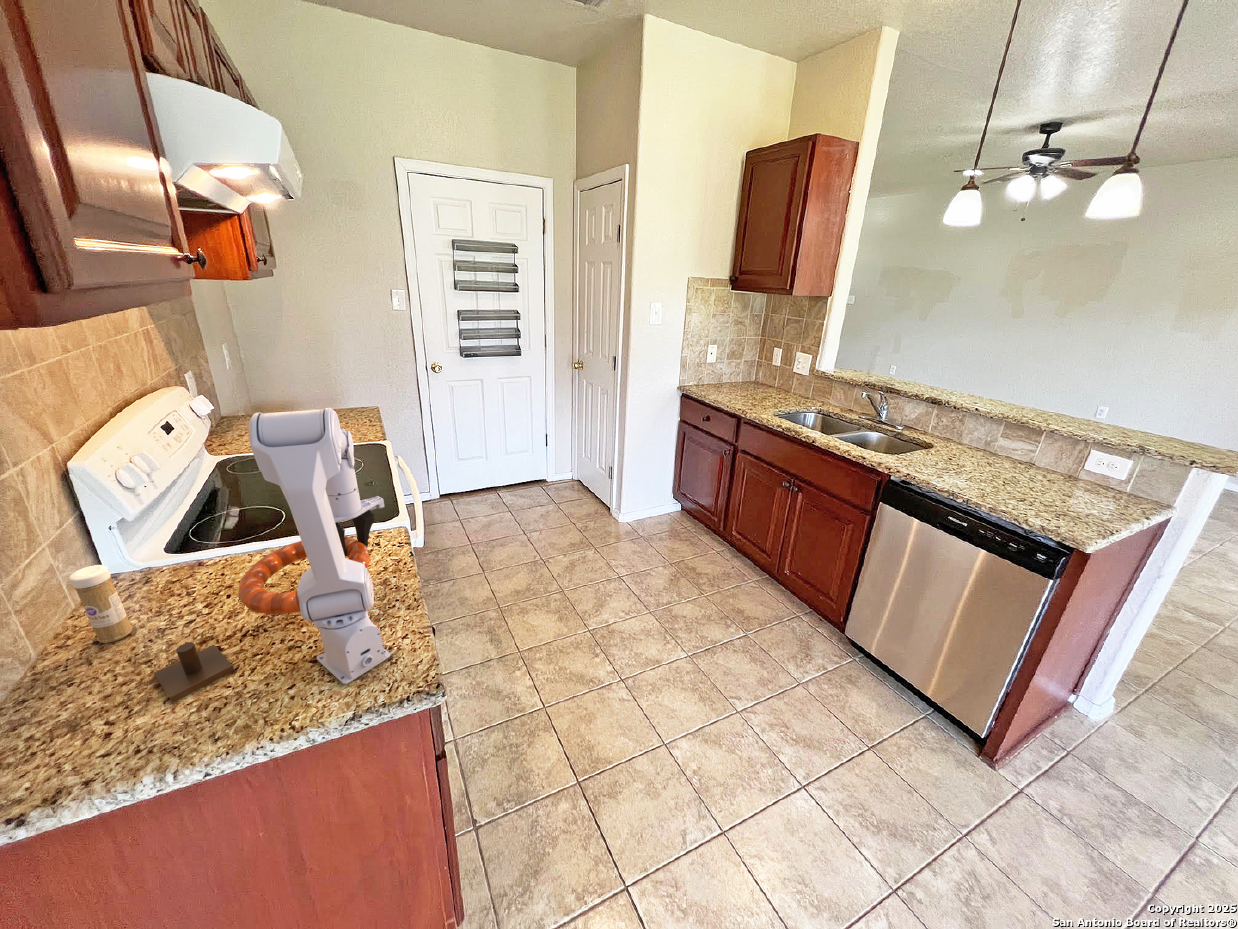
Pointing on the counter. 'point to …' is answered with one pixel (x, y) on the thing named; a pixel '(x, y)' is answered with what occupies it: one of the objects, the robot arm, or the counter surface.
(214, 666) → the stand
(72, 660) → the counter surface
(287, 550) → the ring
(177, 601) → the counter surface
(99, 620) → the sprinkles bottle
